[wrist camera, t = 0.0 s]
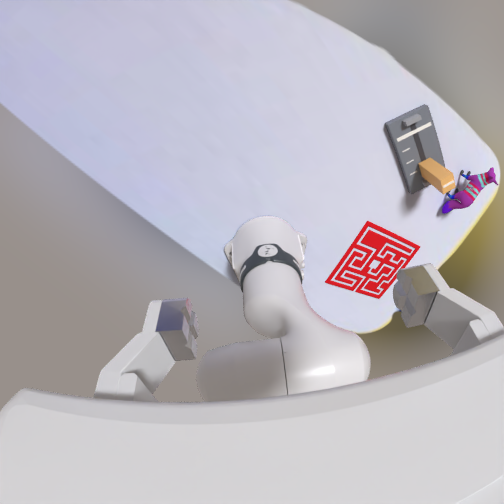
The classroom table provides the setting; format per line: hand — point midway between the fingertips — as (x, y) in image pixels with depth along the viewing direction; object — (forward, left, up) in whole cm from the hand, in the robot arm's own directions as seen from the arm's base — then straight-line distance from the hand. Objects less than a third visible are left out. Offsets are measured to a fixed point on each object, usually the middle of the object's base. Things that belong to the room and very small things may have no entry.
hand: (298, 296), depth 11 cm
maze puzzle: (-42, -28, -49) cm, 70 cm away
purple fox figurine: (-19, -51, -48) cm, 72 cm away
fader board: (-11, -36, -48) cm, 61 cm away
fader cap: (-14, -38, -46) cm, 62 cm away
